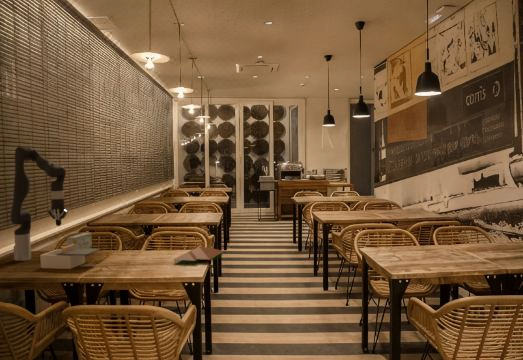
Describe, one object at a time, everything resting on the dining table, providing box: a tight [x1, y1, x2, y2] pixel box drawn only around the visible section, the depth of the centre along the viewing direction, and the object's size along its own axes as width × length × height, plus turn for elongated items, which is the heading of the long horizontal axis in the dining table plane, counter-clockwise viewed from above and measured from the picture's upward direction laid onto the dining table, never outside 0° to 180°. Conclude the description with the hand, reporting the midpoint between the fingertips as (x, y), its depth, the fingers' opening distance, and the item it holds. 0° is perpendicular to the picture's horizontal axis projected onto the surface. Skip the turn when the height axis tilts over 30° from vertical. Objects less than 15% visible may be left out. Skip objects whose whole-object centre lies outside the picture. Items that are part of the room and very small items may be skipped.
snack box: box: [66, 232, 93, 256], centre depth 315 cm, size 21×6×15 cm, turn 168°
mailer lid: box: [56, 244, 101, 257], centre depth 289 cm, size 20×16×4 cm
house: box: [172, 246, 225, 265], centre depth 301 cm, size 23×33×8 cm
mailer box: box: [39, 249, 86, 270], centre depth 291 cm, size 20×16×8 cm
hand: (58, 225), depth 290 cm, fingers closed
